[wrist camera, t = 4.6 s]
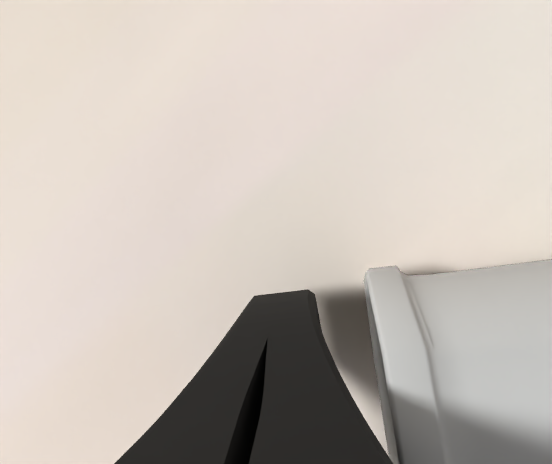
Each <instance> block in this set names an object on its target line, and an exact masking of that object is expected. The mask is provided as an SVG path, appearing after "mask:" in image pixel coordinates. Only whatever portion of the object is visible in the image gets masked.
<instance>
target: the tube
mask: <svg viewBox="0 0 552 464" xmlns="http://www.w3.org/2000/svg"><path fill="white" fill-rule="evenodd" d="M364 288H365V296H366V303H367V311H368V318H369V326H370V334H371V341H372V349H373V356H374V362H375V369H376V376H377V382H378V389H379V396H380V402H381V409H382V415H383V422H384V429H385V435H386V442H387V448H388V454H389V458H390V459H391V461H392V462H393V464H552V259H551V260H543V261H535V262H527V263H519V264H511V265H503V266H495V267H487V268H479V269H470V270H462V271H454V272H446V273H438V274H430V275H406V274H404V273H403V272H402V271H400V269H399V268H398V267H397V266H388V267H379V268H370V269H369V270H368V271H367V272H366V273H365V277H364Z"/></svg>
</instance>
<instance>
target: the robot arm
mask: <svg viewBox="0 0 552 464" xmlns="http://www.w3.org/2000/svg"><path fill="white" fill-rule="evenodd" d="M114 464H393V462H392V461H391V459H390V458H389V456H388V455H387V453H386V452H385V451H384V449H383V447H382V446H381V444H380V443H379V441H378V440H377V438H376V436H375V435H374V433H373V432H372V430H371V429H370V427H369V425H368V424H367V422H366V420H365V419H364V417H363V415H362V414H361V412H360V410H359V408H358V407H357V405H356V403H355V401H354V400H353V398H352V396H351V394H350V392H349V390H348V388H347V387H346V385H345V383H344V381H343V379H342V377H341V375H340V373H339V371H338V369H337V367H336V365H335V363H334V360H333V358H332V356H331V353H330V351H329V349H328V347H327V344H326V342H325V339H324V337H323V334H322V330H321V325H320V320H319V314H318V309H317V304H316V298H315V294H314V293H312V292H311V291H310V290H300V291H292V292H283V293H275V294H266V295H258V296H254V297H253V298H252V300H251V301H250V302H249V303H248V305H247V306H246V308H245V309H244V310H243V312H242V313H241V315H240V316H239V317H238V319H237V320H236V322H235V323H234V324H233V326H232V327H231V329H230V330H229V331H228V333H227V334H226V336H225V337H224V338H223V340H222V341H221V342H220V344H219V345H218V346H217V348H216V349H215V350H214V352H213V353H212V354H211V356H210V357H209V358H208V359H207V361H206V362H205V363H204V365H203V366H202V367H201V369H200V370H199V371H198V372H197V374H196V375H195V376H194V377H193V379H192V380H191V381H190V382H189V383H188V385H187V386H186V387H185V388H184V389H183V391H182V392H181V393H180V394H179V395H178V396H177V398H176V399H175V400H174V401H173V402H172V404H171V405H170V406H169V407H168V408H167V410H166V411H165V412H164V413H163V414H162V415H161V416H160V417H159V419H158V420H157V421H156V422H155V423H154V424H153V425H152V426H151V427H150V428H149V429H148V430H147V431H146V432H145V433H144V435H143V436H142V437H141V438H140V439H139V440H138V441H137V442H136V443H135V444H134V445H133V446H132V447H131V448H130V449H129V450H128V451H127V452H126V453H125V454H124V455H123V456H122V457H121V458H120V459H119V460H118V461H117V462H116V463H114Z"/></svg>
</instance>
